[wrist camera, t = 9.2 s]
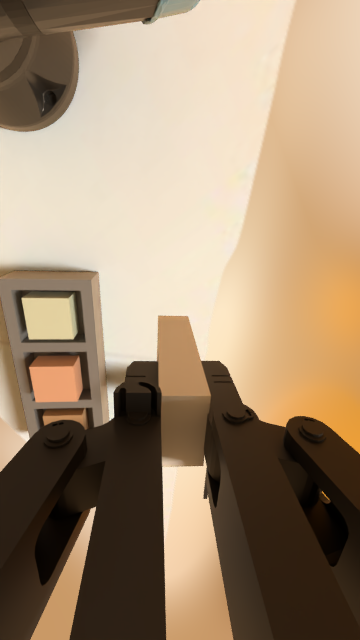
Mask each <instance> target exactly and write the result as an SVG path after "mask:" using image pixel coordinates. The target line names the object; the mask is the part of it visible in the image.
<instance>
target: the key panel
mask: <svg viewBox="0 0 360 640" xmlns="http://www.w3.org/2000/svg"><path fill="white" fill-rule="evenodd" d="M31 291H40V292H75V296H76V306H77V315H78V324H79V331H78V333H77V334H76V336H75V337H74V339H29V337H28V331H27V326H26V320H25V315H24V309H23V304H22V297H24V296H25V295H27V294H28V293H30V292H31ZM0 298H1V303H2V308H3V312H4V317H5V322H6V327H7V332H8V336H9V341H10V346H11V351H12V356H13V360H14V365H15V370H16V375H17V379H18V384H19V389H20V394H21V399H22V403H23V408H24V413H25V418H26V423H27V427H28V432H29V437H30V438H31V437H32V436H33V435H34V434H35V433H36V432H37V431H38V430H39V429H41V428H42V427H43V426H44V421H43V415H44V413H45V411H46V409H50V408H87V409H88V418H89V428H94V427H98V426H100V425H103V424H105V423H107V422H109V409H108V395H107V381H106V368H105V354H104V341H103V327H102V314H101V300H100V286H99V273H98V272H63V271H13V272H10V273H8V274H6V275H3V276H1V277H0ZM75 355H79V358H80V367H81V376H82V385H83V390H82V392H81V395H80V397H79V399H78V401H77V402H36V401H35V396H34V390H33V385H32V380H31V374H30V369H29V366H30V365H31V364H32V363H33V361H34V360H35V359H36V358H37V357H38V356H75Z"/></svg>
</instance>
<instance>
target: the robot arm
mask: <svg viewBox="0 0 360 640" xmlns="http://www.w3.org/2000/svg"><path fill="white" fill-rule="evenodd" d="M199 1H200V0H0V126H1V127H3V128H6V129H10V130H14V131H22V132H28V131H36V130H40V129H43V128H45V127H47V126H49V125H51V124H53V123H54V122H55V121H57V120H58V119H59V118H60V117H61V116H62V115H63V114H64V112H65V111H66V110H67V108H68V107H69V105H70V103H71V101H72V99H73V96H74V94H75V91H76V87H77V82H78V73H79V60H78V51H77V46H76V41H75V38H74V34H73V31H76V30H83V29H90V28H97V27H103V26H110V25H117V24H124V23H131V22H138V21H142V23H143V24H151V23H153V22H155V21H156V20H157V19H158V18H163V17H167V16H172V15H177V14H182V13H186V12H188V11H190V10H192V9H193V8H194V7H195V6H196V5H197V4H198V2H199ZM204 454H205V460H206V464H207V470H206V478H205V487H204V499H207V495H208V497H209V503H210V509H211V514H212V520H213V526H214V531H215V537H216V543H217V548H218V553H219V559H220V565H221V571H222V577H223V582H224V588H225V594H226V599H227V605H228V610H229V616H230V622H231V627H232V633H233V639H234V640H360V454H359V453H358V452H357V451H355V450H354V449H353V448H352V447H351V446H350V445H349V444H348V443H347V442H345V441H344V440H343V439H342V438H341V437H340V436H339V435H338V434H336V433H335V432H334V431H333V430H332V429H331V428H330V427H328V426H327V425H325V424H324V423H323V422H321V421H318V420H316V419H313V418H310V417H305V416H297V417H294V418H291V419H289V421H288V423H287V425H286V427H282V426H278V425H273V424H269V423H266V422H263V421H260V420H259V418H258V416H257V415H256V413H255V412H254V411H253V410H252V409H250V408H249V407H248V406H246V405H244V404H243V403H242V401H241V398H240V396H239V394H238V392H237V389H236V387H235V385H234V383H233V380H232V378H231V377H230V374H229V371H228V369H227V368H226V366H224V365H223V364H222V363H221V362H220V361H201V360H200V356H199V353H198V349H197V346H196V342H195V339H194V336H193V332H192V329H191V325H190V322H189V318H188V316H158V346H157V361H133V362H132V364H131V365H130V366H129V367H128V368H127V372H126V377H125V382H124V383H122V384H121V385H119V386H118V387H117V388H116V389H115V391H114V418H113V419H112V420H111V421H109V422H107V423H105V424H103V425H100V426H98V427H94V428H90V429H86V430H85V428H84V426H83V425H82V424H81V423H80V422H77V421H74V420H59V421H54V422H51V423H49V424H47V425H45V426H43V427H42V428H41V429H39V430H38V431H37V432H36V433H35V434H34V435H33V436H32V437H31V438H30V439H29V440H28V442H27V443H26V444H25V445H24V446H23V447H22V448H21V450H20V451H19V452H18V453H17V454H16V455H15V456H14V457H13V459H12V460H11V461H10V462H9V463H8V464H7V465H6V466H5V468H4V469H3V470H2V471H1V472H0V640H30V639H31V637H32V634H33V632H34V630H35V628H36V626H37V624H38V622H39V620H40V617H41V615H42V613H43V611H44V609H45V607H46V605H47V602H48V600H49V598H50V596H51V594H52V592H53V590H54V587H55V585H56V583H57V581H58V579H59V576H60V574H61V572H62V570H63V568H64V566H65V564H66V562H67V559H68V557H69V555H70V553H71V551H72V549H73V547H74V545H75V542H76V540H77V538H78V536H79V534H80V532H81V530H82V527H83V525H84V523H85V521H86V519H87V517H88V515H89V512H90V509H91V508H93V507H96V511H95V516H94V521H93V526H92V531H91V536H90V541H89V546H88V550H87V556H86V561H85V566H84V570H83V575H82V581H81V585H80V590H79V595H78V600H77V605H76V610H75V615H74V620H73V625H72V630H71V635H70V640H166V619H165V618H166V615H165V572H164V527H163V484H162V467H176V466H203V463H204ZM322 491H323V492H324V494H325V495H326V496H327V497H328V498H329V500H328V499H327V498H326V497H325V496H324V494H323V493H322Z"/></svg>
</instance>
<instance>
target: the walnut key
mask: <svg viewBox="0 0 360 640" xmlns="http://www.w3.org/2000/svg"><path fill="white" fill-rule="evenodd" d="M59 420H74V421H77V422H80V423H81V424H82V425H83V426H84V428H85V430H86V429H90V428H89V418H88V409H87V408H50V409H46V411H45V413H44V415H43V421H44V426H45V425H47V424H49V423H51V422H54V421H59Z"/></svg>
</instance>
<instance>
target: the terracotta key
mask: <svg viewBox="0 0 360 640" xmlns="http://www.w3.org/2000/svg"><path fill="white" fill-rule="evenodd" d="M29 369H30V374H31V380H32V385H33V390H34V396H35V401H36V402H77V401H78V399H79V397H80V395H81V392H82V390H83V385H82V376H81V367H80V358H79V355H75V356H38V357H37V358H36V359H35V360H34V361H33V363H32V364H31V365H30V366H29Z"/></svg>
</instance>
